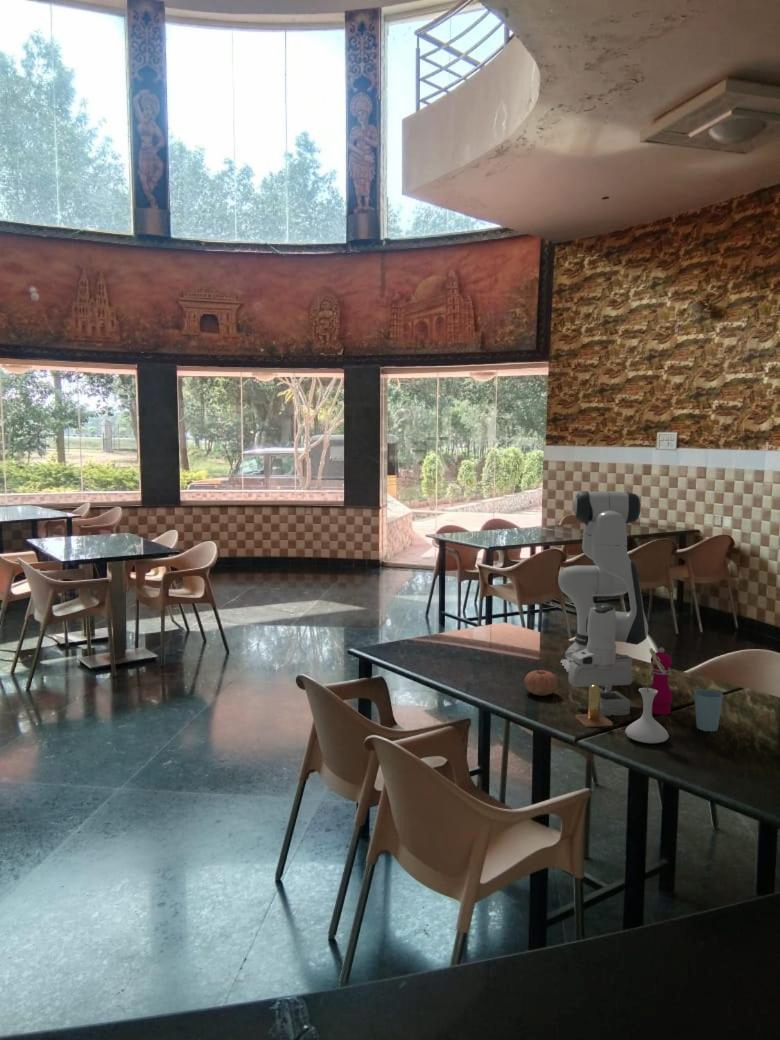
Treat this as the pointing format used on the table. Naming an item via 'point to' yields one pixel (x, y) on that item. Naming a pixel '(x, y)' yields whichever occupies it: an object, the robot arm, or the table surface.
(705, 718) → the cup
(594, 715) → the post
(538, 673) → the orange pumpkin
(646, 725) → the flower in vase
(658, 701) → the pepper mill
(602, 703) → the steel link
